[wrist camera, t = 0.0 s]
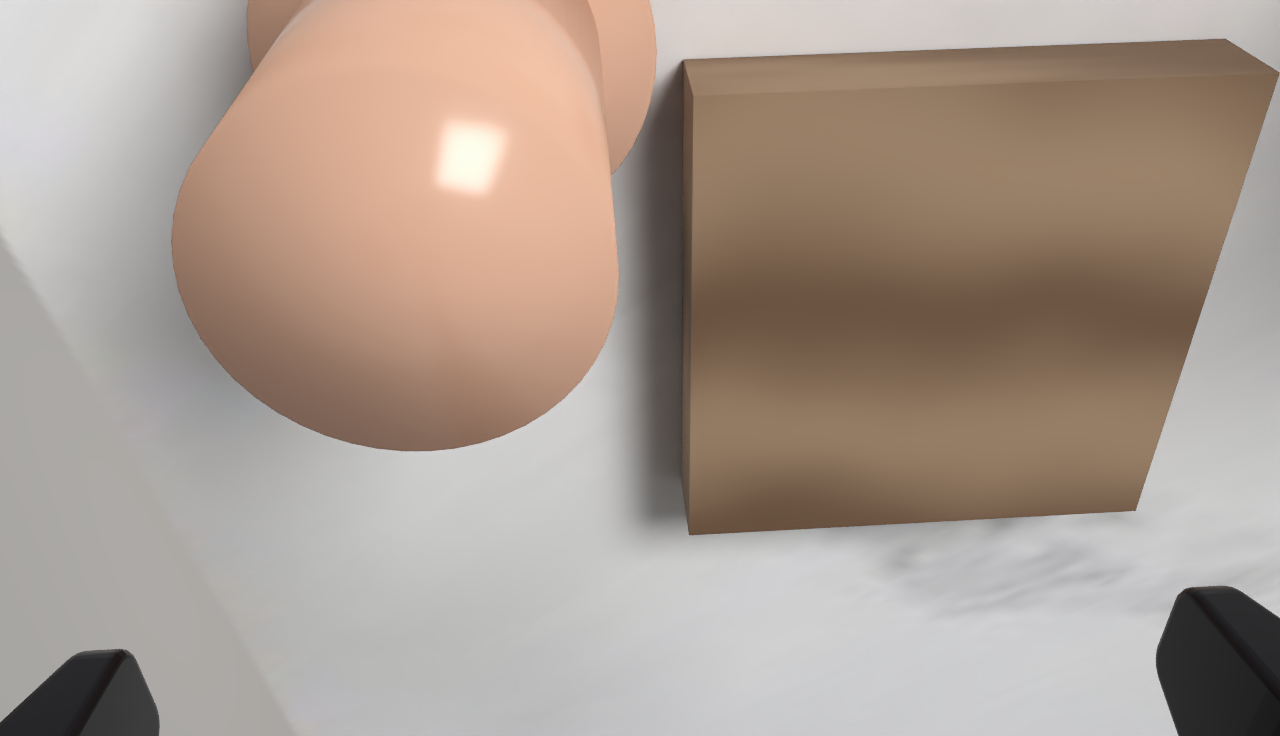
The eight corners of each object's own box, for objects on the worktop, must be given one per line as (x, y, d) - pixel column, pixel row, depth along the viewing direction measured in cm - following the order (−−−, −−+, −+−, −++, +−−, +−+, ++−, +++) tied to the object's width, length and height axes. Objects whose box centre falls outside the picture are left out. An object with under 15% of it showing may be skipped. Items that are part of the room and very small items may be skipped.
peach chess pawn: (644, 140, 22) (699, 494, 13) (333, 153, 22) (174, 523, 13) (638, -207, 19) (708, -46, 10) (265, -196, 18) (-24, -20, 9)
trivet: (1102, 458, 28) (1135, 510, 26) (681, 480, 28) (688, 535, 26) (1225, 38, 22) (1279, 72, 20) (683, 59, 21) (693, 96, 20)
